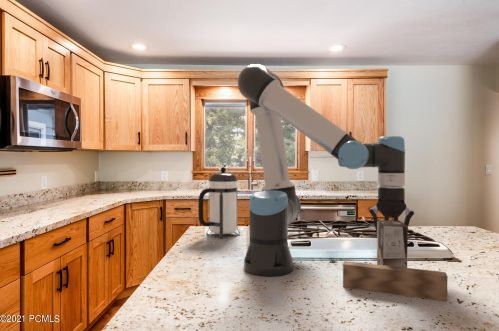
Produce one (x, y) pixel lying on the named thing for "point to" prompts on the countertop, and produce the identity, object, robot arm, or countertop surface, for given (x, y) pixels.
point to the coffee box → (392, 243)
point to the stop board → (395, 280)
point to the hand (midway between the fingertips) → (390, 263)
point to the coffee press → (221, 204)
